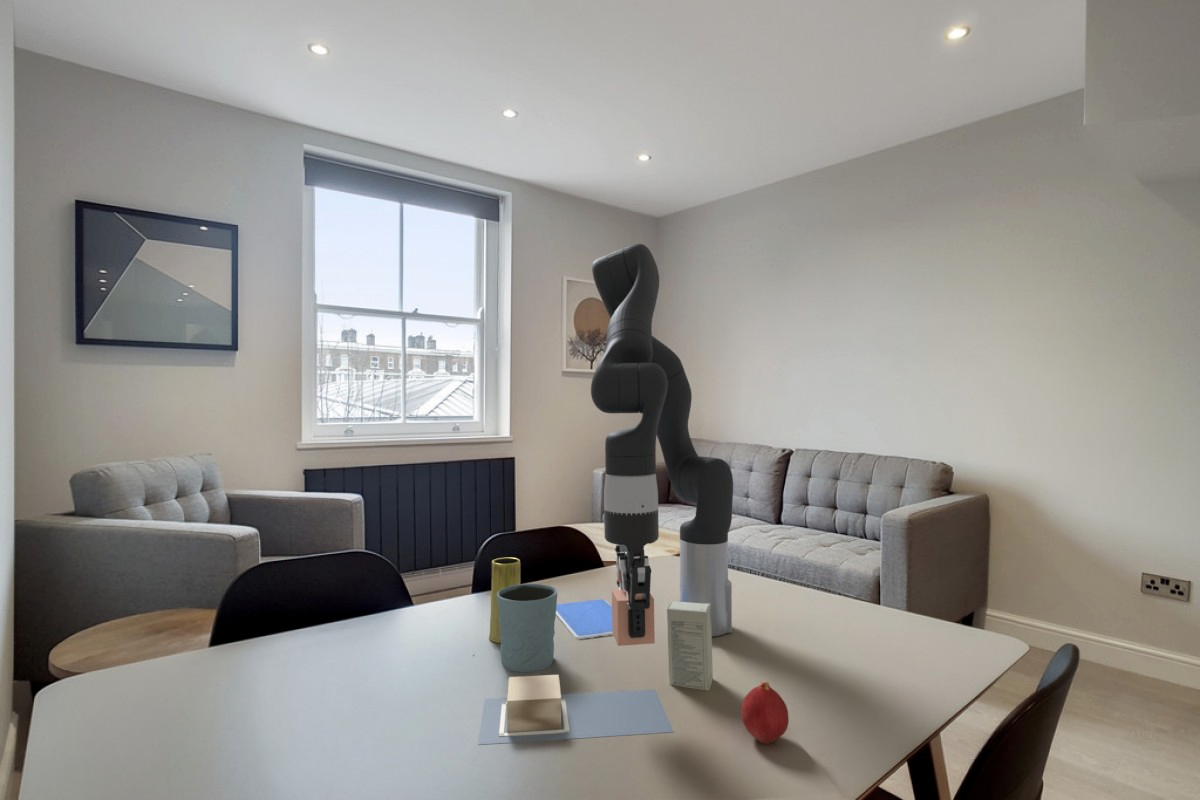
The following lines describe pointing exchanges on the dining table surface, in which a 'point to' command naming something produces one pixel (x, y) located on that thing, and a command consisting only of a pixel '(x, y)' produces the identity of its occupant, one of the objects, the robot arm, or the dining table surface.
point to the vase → (502, 577)
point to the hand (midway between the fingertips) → (632, 628)
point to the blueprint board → (583, 718)
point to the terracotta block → (622, 620)
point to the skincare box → (690, 645)
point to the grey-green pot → (527, 626)
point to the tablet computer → (586, 618)
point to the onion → (764, 713)
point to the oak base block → (533, 703)
